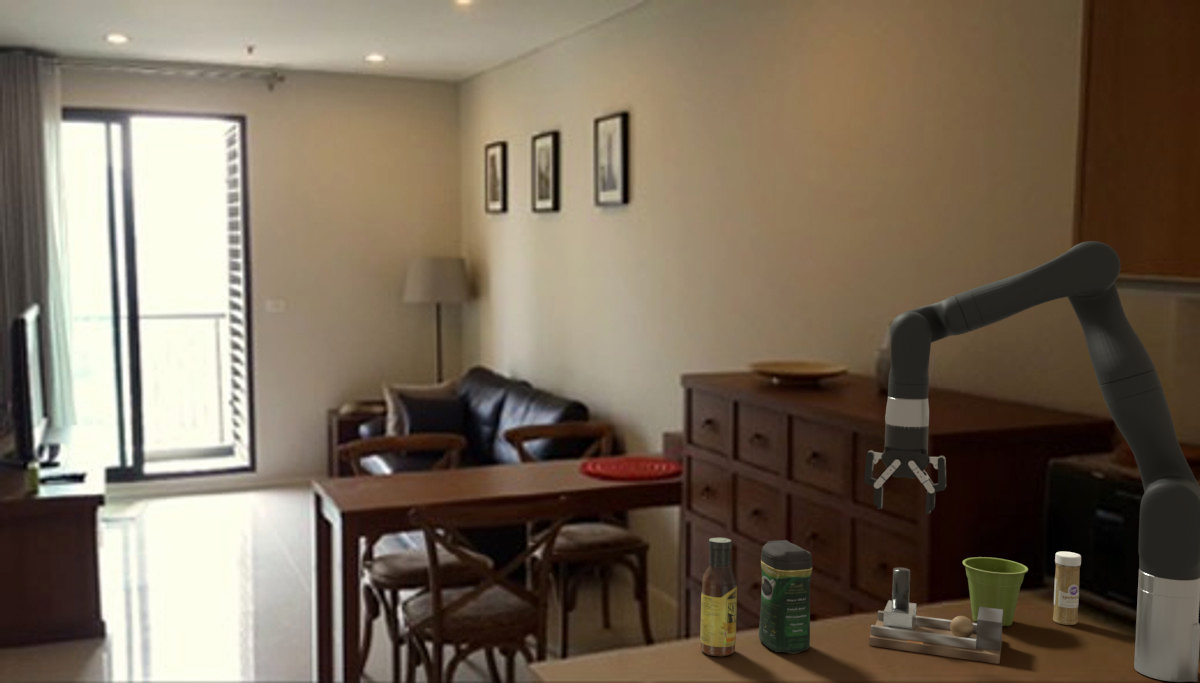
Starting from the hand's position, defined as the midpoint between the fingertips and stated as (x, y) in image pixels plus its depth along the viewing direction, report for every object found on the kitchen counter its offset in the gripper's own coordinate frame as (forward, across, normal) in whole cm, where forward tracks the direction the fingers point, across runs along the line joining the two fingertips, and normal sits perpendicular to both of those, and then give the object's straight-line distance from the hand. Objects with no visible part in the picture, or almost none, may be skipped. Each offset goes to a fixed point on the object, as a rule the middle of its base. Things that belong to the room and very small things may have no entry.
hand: (903, 510), depth 196 cm
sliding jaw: (+22, 0, 0) cm, 22 cm away
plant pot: (+24, -16, -17) cm, 33 cm away
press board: (+24, -6, 0) cm, 25 cm away
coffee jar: (+24, +19, +13) cm, 33 cm away
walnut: (+20, -11, 0) cm, 23 cm away
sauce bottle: (+24, +29, +20) cm, 43 cm away
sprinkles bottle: (+24, -29, -23) cm, 44 cm away
